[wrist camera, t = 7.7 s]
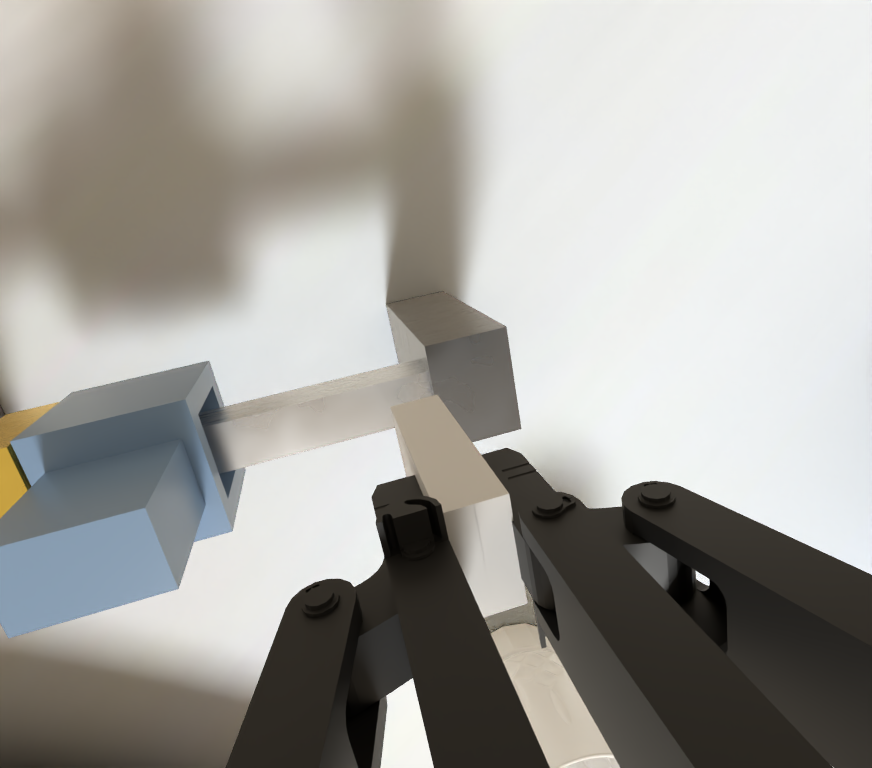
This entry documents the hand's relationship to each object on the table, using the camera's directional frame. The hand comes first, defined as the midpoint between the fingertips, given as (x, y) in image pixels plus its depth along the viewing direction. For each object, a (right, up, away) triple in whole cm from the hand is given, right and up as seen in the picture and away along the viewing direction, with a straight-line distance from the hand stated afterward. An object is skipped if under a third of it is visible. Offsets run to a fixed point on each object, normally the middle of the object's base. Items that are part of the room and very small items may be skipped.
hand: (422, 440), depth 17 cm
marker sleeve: (-10, 0, +5) cm, 11 cm away
